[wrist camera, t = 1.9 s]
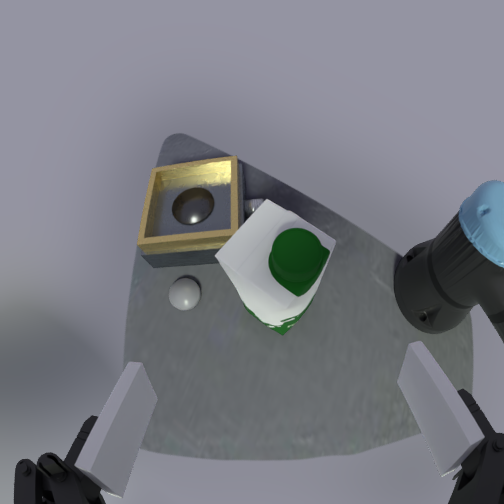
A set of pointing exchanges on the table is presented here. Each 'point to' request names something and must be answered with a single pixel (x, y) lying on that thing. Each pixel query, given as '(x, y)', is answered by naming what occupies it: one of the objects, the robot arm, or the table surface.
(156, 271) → the table surface
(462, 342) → the table surface
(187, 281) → the grey round lid
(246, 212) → the wooden rimmed tray
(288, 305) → the soya milk
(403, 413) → the table surface
